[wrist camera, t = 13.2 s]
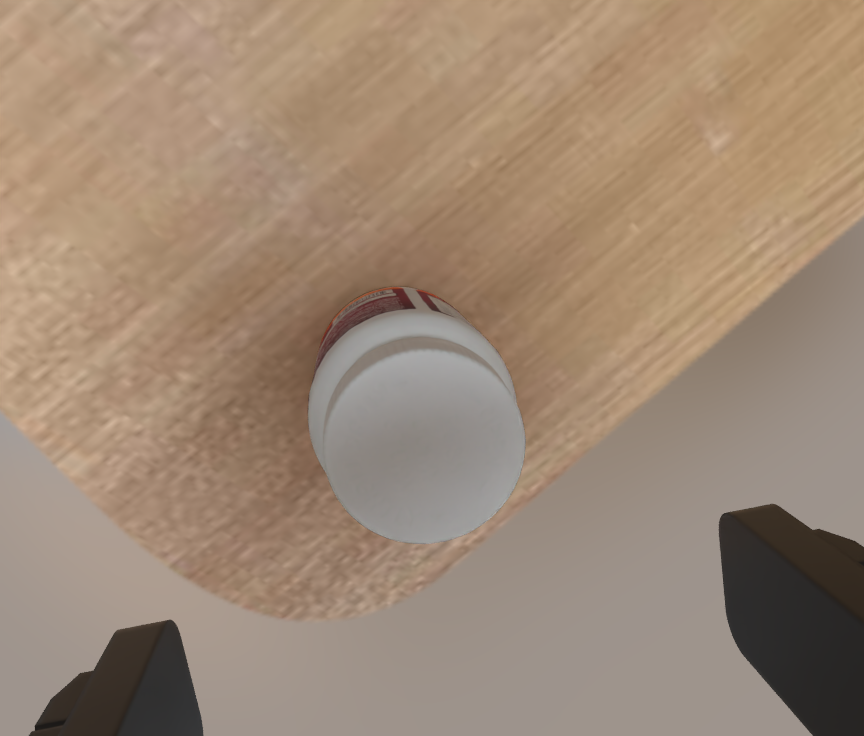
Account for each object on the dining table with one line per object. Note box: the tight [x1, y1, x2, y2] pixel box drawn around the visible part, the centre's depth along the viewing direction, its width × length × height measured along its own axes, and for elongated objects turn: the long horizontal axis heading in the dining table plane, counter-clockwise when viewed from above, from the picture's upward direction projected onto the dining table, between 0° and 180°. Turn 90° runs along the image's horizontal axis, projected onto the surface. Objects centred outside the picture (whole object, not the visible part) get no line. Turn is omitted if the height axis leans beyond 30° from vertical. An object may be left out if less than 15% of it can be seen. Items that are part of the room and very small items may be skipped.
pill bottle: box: [308, 287, 526, 544], centre depth 25 cm, size 6×6×11 cm
